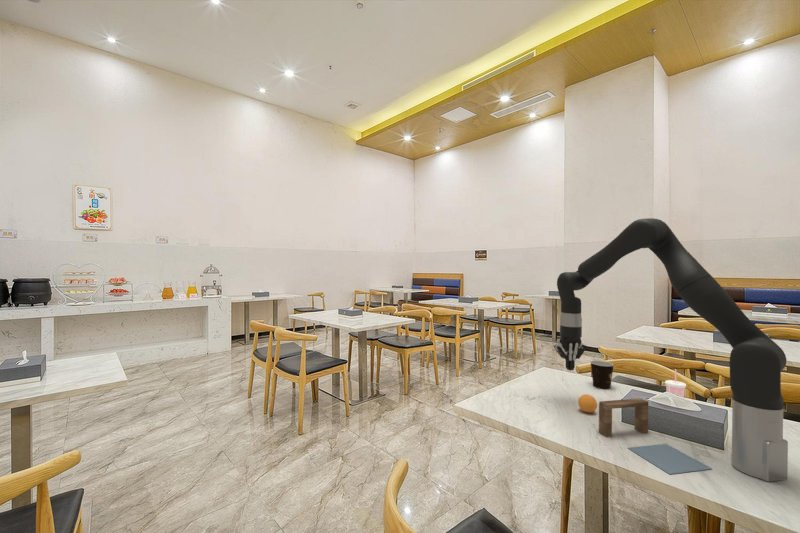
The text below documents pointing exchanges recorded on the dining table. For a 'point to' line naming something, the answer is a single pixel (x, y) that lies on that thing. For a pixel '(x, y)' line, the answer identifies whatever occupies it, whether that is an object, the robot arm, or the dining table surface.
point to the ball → (587, 403)
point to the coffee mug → (602, 374)
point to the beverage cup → (675, 386)
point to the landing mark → (669, 459)
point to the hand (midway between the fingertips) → (570, 369)
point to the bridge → (607, 407)
